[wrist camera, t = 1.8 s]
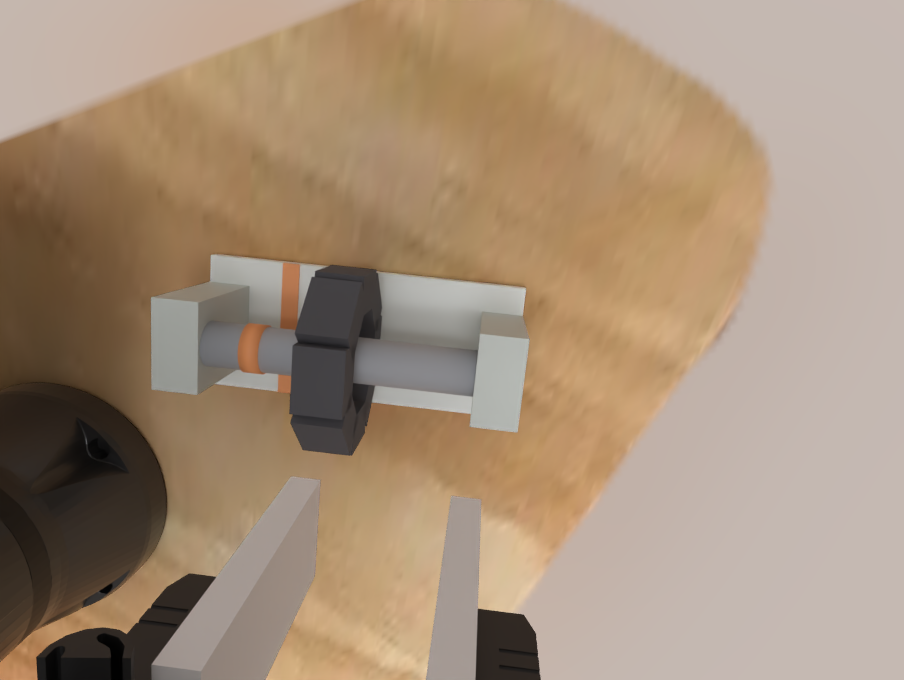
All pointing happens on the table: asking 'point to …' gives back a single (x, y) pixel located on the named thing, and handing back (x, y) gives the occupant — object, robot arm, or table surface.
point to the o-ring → (333, 359)
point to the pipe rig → (376, 360)
